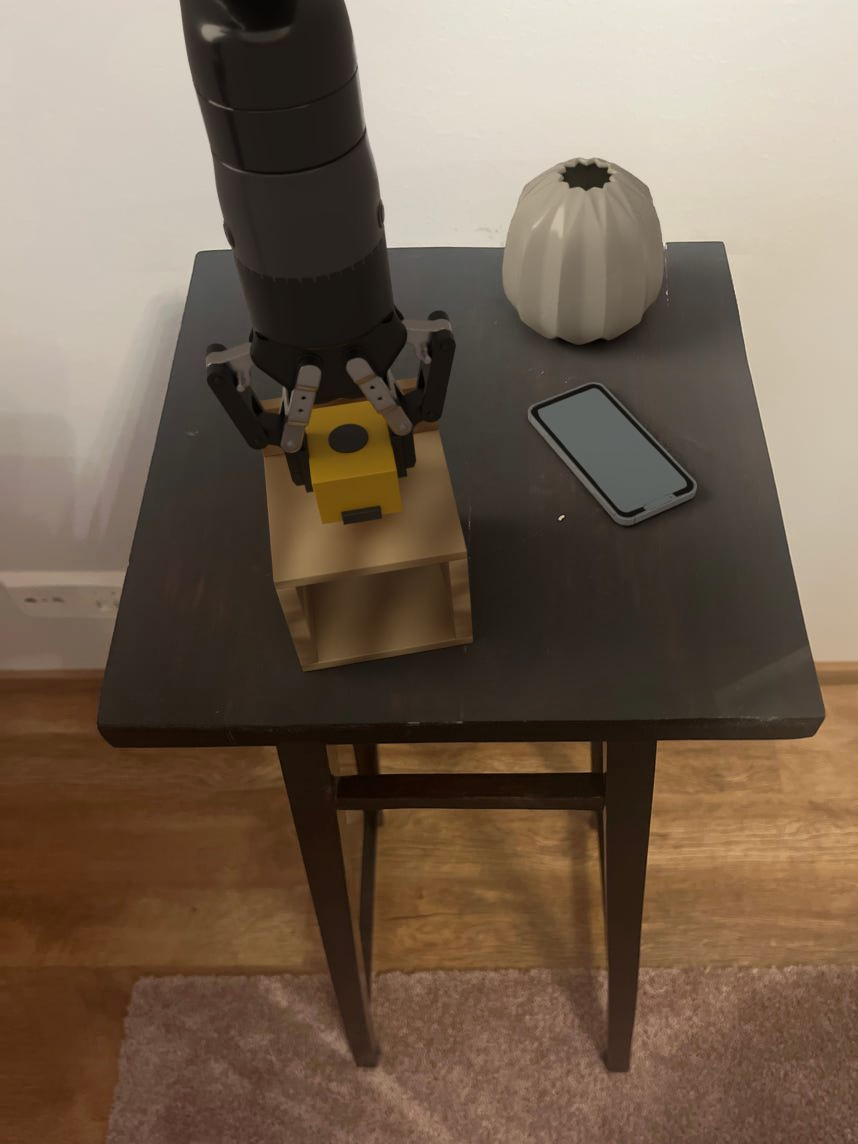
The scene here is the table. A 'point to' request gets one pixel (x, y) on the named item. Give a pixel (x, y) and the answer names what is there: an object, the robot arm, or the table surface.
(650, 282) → the vase
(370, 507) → the measuring tape
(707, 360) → the table surface
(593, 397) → the smartphone
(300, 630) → the shelf
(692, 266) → the table surface
